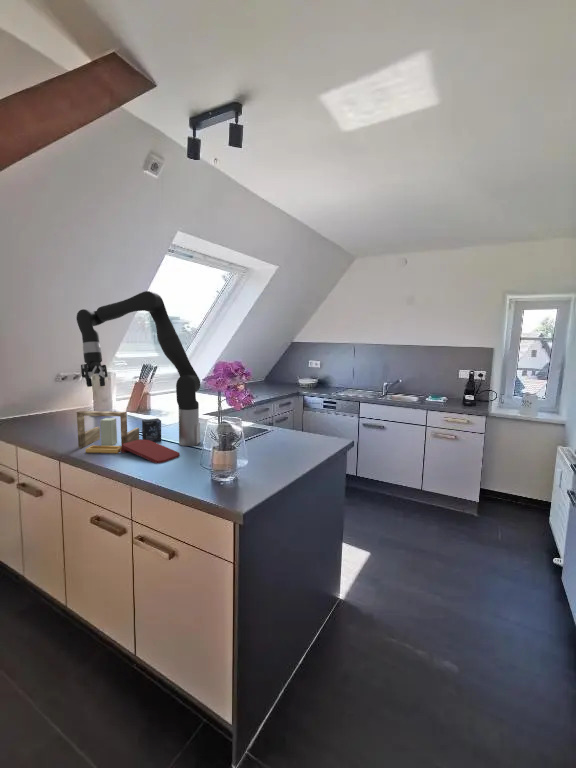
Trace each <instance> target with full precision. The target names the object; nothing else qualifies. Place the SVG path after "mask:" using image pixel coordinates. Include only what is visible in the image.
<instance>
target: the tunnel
mask: <svg viewBox="0 0 576 768" xmlns="http://www.w3.org/2000/svg"><path fill="white" fill-rule="evenodd" d="M87 416H88V417H90V416H91V417H120V438H121V439H120V441H121V442H120V443H121V445H120V446H122V444H124V443H128V442H131V441H135V440H140V427H134V428H133V429H131V430H130V431H128V415H127V411H108V410H107V411H104V410H103V411H102V410H101V411H100V410H79V411H76V423H77V425H76V426H77V442H78V443H77V445H78V447H77V448H78V449H83V448H85V447H87V446H89V445H90V444H93V443H95V442H96V441H99V440H101V427H100V426H95V427H93V428H91V429H89V430H87V431H85V430H86V429H85V427H86V425H85V417H87Z"/></svg>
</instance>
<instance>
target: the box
mask: <svg viewBox="0 0 576 768" xmlns="http://www.w3.org/2000/svg"><path fill="white" fill-rule="evenodd" d="M141 432H142V433H141V434H142V435H141V436H142V440H150V441H153V442H155V443H158V442H162V420H161V419H160V418H150V419H142V420H141Z"/></svg>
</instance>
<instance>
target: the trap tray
mask: <svg viewBox="0 0 576 768" xmlns="http://www.w3.org/2000/svg"><path fill="white" fill-rule="evenodd" d="M121 448H122V446H121V445H113V446H101V445H97V444H96V445H90V446H88V447H87V448H85V454H108V455H109V454H110V455H111V454H113V455H115V454H117V455H118V454H120V453H122V452H121Z"/></svg>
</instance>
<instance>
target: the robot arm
mask: <svg viewBox="0 0 576 768" xmlns="http://www.w3.org/2000/svg"><path fill="white" fill-rule="evenodd" d="M141 311H143V312H148V313H149V314H150V316H151V318H152V320H153V322H154V325H155V328H156V329H155V330H156V336H157V337H156V338H157V342H158V345H159V346H160V348H161V350H162V353H164V356H166V358H167V359H168V360H169V361H170V362H171V363H172V365H173V366H174V367H175V369H176V371H177V373H178V375H179V378H177V381H176V385H175V392H176V404H177V405H178V406H177V407H178V445H180V446H181V447H182V446H184V447H192V446H198V445H199V444H200V443H201V423H200V421H199V420H200V418H199V416H200V413H199V412H200V411H199V408H200V407H199V406H200V405H199V402H198V401H197V398H196V397H197V396H196V392H198V391H200V389H201V385H202V384H201V380H200V377H199V376H198V374H197V373H196V371H195V369H194V367H193V365H192V364H191V362H190V360H189V358H188V354H187V352H186V351H185V349H184V347H183V343H182V342H181V339H180V338H179V335H178V332H177V331H176V329H175V327H174V325H173V323H172V321H171V319H170V317H169V315H168V312H167V309H166V306H165V302H164V300H163V298H162V297H161V295H160V294H158V293H156V292H153V291H152V290H151V291H150V290H144V291H142V292H139V293H138V294H135V295H133V296H131V297H129V298H126V299H124V300H120V301H118V302H114V303H109V304H105V305H102V306H100V307H98V308H97V309H96V310H93V311H91V310H89V309H80V310H79V311H78V312H77V313H76V323H77V325H78V328H79V330H80V333H81V339H82V352H83V362H84V364H83V363H82V364H80V373H81V378H85V384H86V386H87V388H91V387H93V380H92V376H93V375H95V376H98V378H99V387H105V386H106V380H105V379H106V378H107V377H108V376H109V375H108V369H107V364H102V363H103V357H102V347H101V344H100V336H99V332H98V330H95V328H94V327H96V326H99V325H101V324H104V323H106V322H108V321H112V320H117V319H119V318H122V317H124V316H126V315H128V314H130V313H134V312H141Z"/></svg>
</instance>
